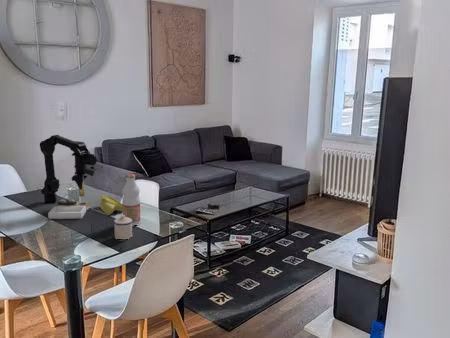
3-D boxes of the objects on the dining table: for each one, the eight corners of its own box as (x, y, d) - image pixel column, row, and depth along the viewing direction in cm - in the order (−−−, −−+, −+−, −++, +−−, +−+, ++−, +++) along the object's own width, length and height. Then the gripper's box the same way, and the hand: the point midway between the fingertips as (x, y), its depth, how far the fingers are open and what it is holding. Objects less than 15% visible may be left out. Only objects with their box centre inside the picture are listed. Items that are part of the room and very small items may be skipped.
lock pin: (77, 196, 243) (76, 180, 241) (79, 194, 247) (78, 179, 245) (84, 196, 244) (83, 180, 242) (86, 194, 248) (85, 179, 245)
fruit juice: (119, 224, 224) (118, 175, 218) (132, 219, 231) (131, 172, 225) (131, 228, 219) (129, 178, 212) (144, 223, 226) (143, 174, 220)
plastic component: (128, 208, 244) (114, 204, 237) (123, 219, 244) (109, 215, 237) (113, 197, 258) (100, 193, 251) (108, 208, 258) (95, 204, 251)
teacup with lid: (136, 237, 207) (135, 215, 204) (121, 242, 200) (120, 220, 197) (122, 231, 215) (122, 210, 212) (107, 235, 208) (106, 214, 205)
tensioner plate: (55, 210, 242) (55, 202, 241) (59, 206, 250) (59, 198, 248) (86, 210, 244) (86, 202, 243) (89, 206, 252) (89, 198, 250)
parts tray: (48, 218, 228) (48, 213, 227) (54, 211, 240) (54, 206, 239) (81, 218, 230) (81, 212, 230) (86, 211, 242) (85, 206, 241)
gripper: (90, 166, 233) (92, 193, 236) (97, 160, 251) (98, 184, 254) (70, 166, 232) (72, 193, 235) (78, 160, 250) (79, 184, 253)
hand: (81, 188), depth 245 cm, fingers closed on lock pin, 3 cm apart
